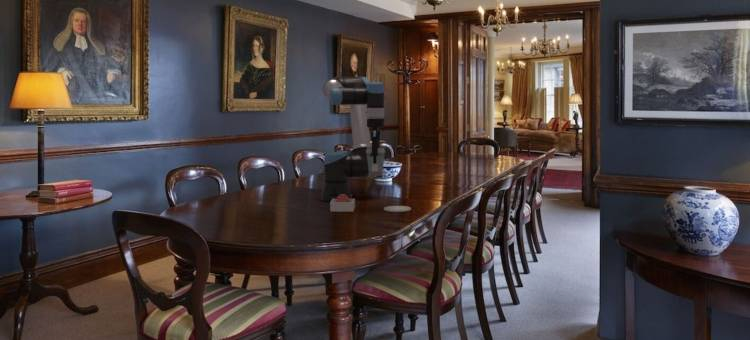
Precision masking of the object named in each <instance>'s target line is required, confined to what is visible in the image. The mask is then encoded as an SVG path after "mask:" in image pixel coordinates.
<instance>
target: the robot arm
mask: <svg viewBox="0 0 750 340" xmlns="http://www.w3.org/2000/svg"><path fill="white" fill-rule="evenodd" d="M322 91H323V94H324V96H325V97H326V98H328V99H329V104H331V105H333V106H334V105H335V106H342V105H343V106H344V105H348V107H349V113H350V126H351V134H352V147H353V148H352V149H351V150H350V153H349V151H348V150H338V151H333V152H328V153H326V154H325V155H324V156H323V168H324V169H323V171H324V172H323V174H324V175H323V179H324V180H323V181H324V184H323V188H322V190H321V194H320V200H321V201H324V202H329V203H330V202H331V201H332V199H336V198H338V196H340V194H346V196H348V198H350V199H353V194H352V191H351V188H350V184H349V179H351V178H372V177H374V176H370V175H369V169H368V161H367V153H366V151H367V148H372V153H371V154H370V156H372V171H378V148H380V141H381V131H380V128H384V127H385V119H384V117H385V85H384V83H383V82H382V81H376V82H375V81H370V79H368V77H366V76H360V75H359V76H335V77H331V78H329V79H327V80H326V81H325V83H324V84H323V86H322ZM370 128H372V130H371V131H370Z"/></svg>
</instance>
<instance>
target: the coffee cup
mask: <svg viewBox="0 0 750 340" xmlns="http://www.w3.org/2000/svg"><path fill="white" fill-rule="evenodd" d="M366 153H367V161H368V169H369V175H370V176H373V177H382V176H383V174H384V165H385V164H384V163H385V155H386V150H385V148H384V147H379V148H378V171H372V156H370V154H371V153H372V148H367V151H366Z"/></svg>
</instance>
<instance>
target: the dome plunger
mask: <svg viewBox="0 0 750 340" xmlns="http://www.w3.org/2000/svg"><path fill="white" fill-rule="evenodd" d="M334 202H352V200H350V198H348V196H346V194H340V196H338V198H336V200H335V201H334Z"/></svg>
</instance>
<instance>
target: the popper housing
mask: <svg viewBox="0 0 750 340" xmlns="http://www.w3.org/2000/svg"><path fill="white" fill-rule="evenodd" d="M335 200H336V199H332V201H331V202H330V201H329V209H330V213H331V212H336V213H337V212H338V213H339V212H340V213H342V212H345V213H347V212H349V213H351V212H352V213H354V211H355V209H356V199H355V198H352V199H350V200H352V202H334V201H335Z"/></svg>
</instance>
